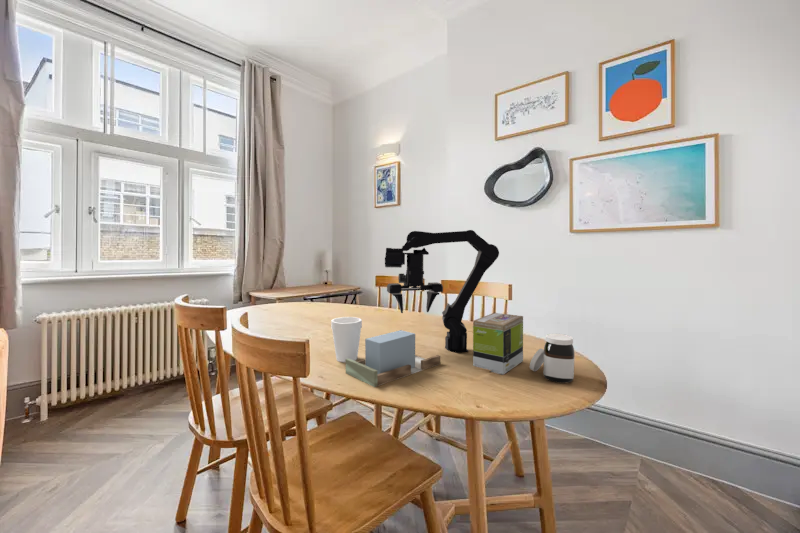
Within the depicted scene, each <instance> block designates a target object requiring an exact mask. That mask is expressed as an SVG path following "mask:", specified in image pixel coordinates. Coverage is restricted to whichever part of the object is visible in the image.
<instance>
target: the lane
mask: <svg viewBox="0 0 800 533" xmlns="http://www.w3.org/2000/svg"><path fill="white" fill-rule="evenodd" d="M441 358H442V357H441V355H440V354H437V355H434V356H431V357H428V358H425V357H421V356H418V355H416V354H415V367H414V368H411V365H409V364H408V365H405V366H402V367H399V368H396V369H393V370H390V371H387V372H384V373H380V374H377V370H375V369H372V368H370V367H368V366H365V359H360V360H355V361H354V360H351V359H349V358H348V359H346V362H345V374H346V375H348V376H351V377H353V378H355V379H356V380H359V381H361V382H364V383H365V384H368V385H369V386H371V387H373V388H375V387H379V386H381V385H384V384H387V383H391V382H393V381H395V380H398V379H401V378H404V377H407V376H411V375H414V374H415V373H418V372H422V371H425V370H427V369H430V368H433V367H435V366H439V365H441Z"/></svg>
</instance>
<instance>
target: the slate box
mask: <svg viewBox="0 0 800 533" xmlns="http://www.w3.org/2000/svg"><path fill="white" fill-rule="evenodd" d="M364 341H365V343H364V344H365V345H364V346H365V351H364V354H365V355H364V356H365V358H364V360H365V366H368V367H370V368H372V369H375V370H377V374H380V373H384V372H387V371H390V370H393V369H396V368H399V367H402V366H405V365H408V364H409V365H411V368H414V367H415V355H416V333H414V332H410V331H405V330H402V329H399V330H396V331H392V332H388V333H384V334H379V335H375V336H371V337H368V338H365V340H364Z"/></svg>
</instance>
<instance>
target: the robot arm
mask: <svg viewBox="0 0 800 533" xmlns="http://www.w3.org/2000/svg"><path fill="white" fill-rule="evenodd" d="M461 242H462V243H463V242H467V243H468V244H469V245H470V246H471V247H473V249H474V250H475V251H477V255H476V257H475V262H474V264H473V265H474V266H473V268H472V269H471V271H470V272H469V275H468V276H467V278H466V280H465V282H464V284H463V285H462V288H461V289H460V291H459V293H458V295H457V297H456V298H455V300H454V301H453V302H452V303H451V304H450V303H449V302H447V304H446V306H445V309H444V310H443V311H442V312H441V314H442V318H441V319H442V323H443V326H444V328H446V329H447V330H448V331H446V336H445V344H444V349H446V350H447V351H448V352H452V353H455V354H457V353H459V354H460V353H468V352H469V351H470V350H469V349H468V348H467V345H468V344H467V343H468V332H467V331H468V330H467V328H466V326H465V323H464V322H462V320H463V318H464V312H465V309H466V307H467V305H468V304H469V301H470V300H471V298H472V296H473V294H474V293H475V290H476V289H477V287H478V285H479V284H480V282H481V280H482V278H483V276H484V274H485V272H486V271H487V270H488V269H489V268H490V267H492V265H493V264H494V263H495V262H496V261H497V259H498V258H499V256H500V251H499V248H498V246H496V245H495V244H491V243H489V242H487V241H486V240H485V239H483V238H482V237H481V236H480V235H479V234H477V233H476V231H475V230H473V229H467V230H462V231H460V230H458V231H445V232H428V231H421V230H420V231H419V230H413V231H410V232H409V233H408V234H407V236H406V242H405V243H404V245H402V246H401V248H400V247H399V248H393V247H386V248H385V257H384V267H385V268H395V269H396V268H398V269H399V268H402V267H403V265H405V264H406V272H405V273H398V283H397V282H396V283H393V282H392V283H387V285H386V292H387V293H389V294H391V295H392V296H393V297H395V300H396V301H397V304H398V308H399V310H400V313H401V314H403V313H404V304H403V302H404V300H403V293H401V292H402V291H403V292H404V291H405V292H407V291H409V292H410V291H426V295H427V296H426V313H429V311H430V309H431V308H432V305H433V302H434V301H435V299H436V297H437V296H438V295H440V293H443V292H444V286H443V284H442V283H440V282H428V283H427V284H425V283H424V275H425V271H424V256H425V255H430V254H429V251H427V249H426V248H425V247H426V246H431V245H435V244H446V243H461ZM418 248H422V249H418ZM411 249H413V251H412V252H408V251H410V250H411ZM401 284H403V285H401Z"/></svg>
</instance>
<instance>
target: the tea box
mask: <svg viewBox="0 0 800 533" xmlns="http://www.w3.org/2000/svg"><path fill="white" fill-rule="evenodd" d="M472 354H473V356H472V365H473V367H477V368H480V369H484V370H489V372H490V373H494V374H497V375H505V374H506V373H508V372H509V371H511V370H512V369H514V368H515V367H516V366H518V365H519V364H521V363H522V362H523V361H524V316H523V315H518V314H517V315H515V314H508V313H500V312H492V313H490V314H487V315H484V316H482V317H479V318H477V319H474V320H473V321H472Z"/></svg>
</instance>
